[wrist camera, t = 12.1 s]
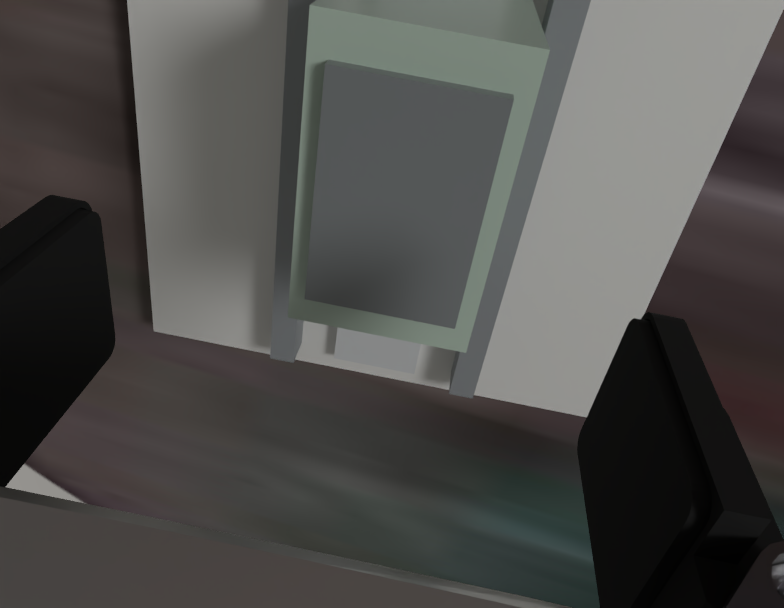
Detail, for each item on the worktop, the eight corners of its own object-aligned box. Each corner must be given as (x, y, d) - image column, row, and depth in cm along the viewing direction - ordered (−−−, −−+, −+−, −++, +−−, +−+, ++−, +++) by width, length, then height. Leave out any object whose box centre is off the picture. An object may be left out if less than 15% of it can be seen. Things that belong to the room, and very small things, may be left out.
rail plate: (909, -317, 16) (976, -348, 13) (592, 400, 29) (600, 442, 27) (113, -452, 16) (55, -503, 14) (164, 315, 30) (139, 350, 27)
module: (531, -3, 19) (551, 54, 13) (472, 235, 23) (465, 362, 17) (365, -34, 19) (304, 7, 13) (337, 209, 23) (283, 325, 17)
